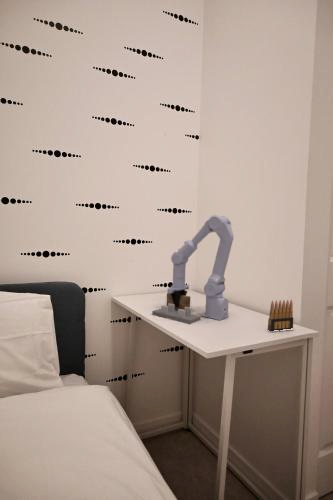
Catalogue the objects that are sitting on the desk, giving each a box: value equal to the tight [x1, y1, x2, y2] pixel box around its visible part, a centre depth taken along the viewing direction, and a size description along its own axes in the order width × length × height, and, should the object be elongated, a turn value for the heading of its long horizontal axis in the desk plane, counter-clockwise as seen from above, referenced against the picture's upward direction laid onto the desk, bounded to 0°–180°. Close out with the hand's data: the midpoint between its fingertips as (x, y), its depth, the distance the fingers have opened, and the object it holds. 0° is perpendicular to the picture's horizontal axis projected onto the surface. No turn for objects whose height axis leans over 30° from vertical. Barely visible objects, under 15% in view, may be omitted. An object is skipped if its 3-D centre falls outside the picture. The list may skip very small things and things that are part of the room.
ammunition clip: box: [267, 299, 294, 332], centre depth 122 cm, size 11×2×12 cm, turn 110°
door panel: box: [165, 293, 191, 311], centre depth 149 cm, size 12×3×7 cm, turn 52°
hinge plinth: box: [151, 303, 202, 325], centre depth 136 cm, size 20×8×4 cm, turn 52°
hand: (178, 306), depth 149 cm, fingers closed on door panel, 2 cm apart
